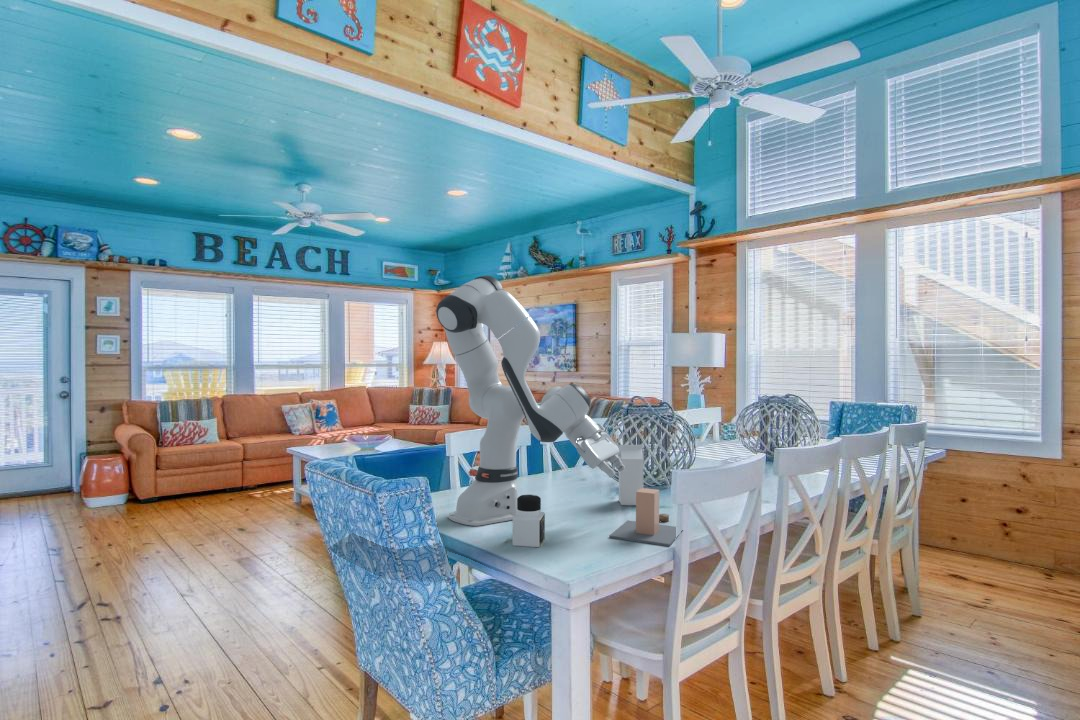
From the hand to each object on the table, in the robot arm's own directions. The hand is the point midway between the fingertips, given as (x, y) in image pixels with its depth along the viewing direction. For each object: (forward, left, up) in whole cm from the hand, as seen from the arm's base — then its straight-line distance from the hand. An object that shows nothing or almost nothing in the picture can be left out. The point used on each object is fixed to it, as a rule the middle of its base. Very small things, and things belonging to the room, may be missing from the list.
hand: (618, 472), depth 164 cm
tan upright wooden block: (+1, -9, -15) cm, 17 cm away
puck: (+15, -5, -15) cm, 22 cm away
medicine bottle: (-27, +8, -16) cm, 32 cm away
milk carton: (+25, +14, -16) cm, 33 cm away
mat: (+1, -9, -15) cm, 18 cm away
